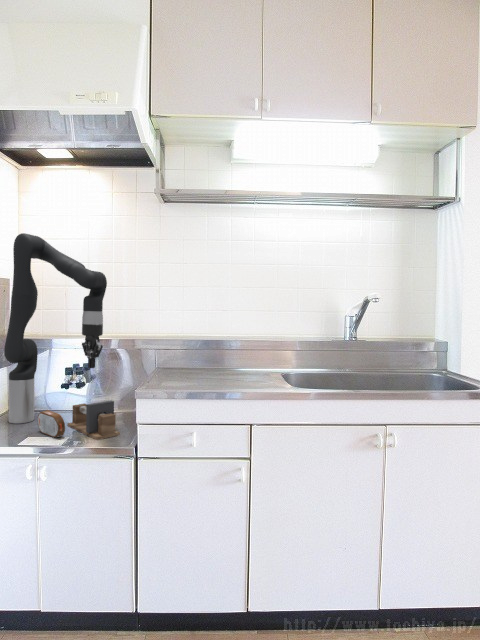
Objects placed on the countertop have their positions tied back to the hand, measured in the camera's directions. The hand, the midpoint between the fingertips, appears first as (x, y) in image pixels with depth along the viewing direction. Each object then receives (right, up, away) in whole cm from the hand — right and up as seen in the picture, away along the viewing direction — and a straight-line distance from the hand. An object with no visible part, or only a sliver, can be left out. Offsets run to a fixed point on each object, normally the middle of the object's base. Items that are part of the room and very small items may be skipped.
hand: (91, 367), depth 162 cm
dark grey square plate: (+5, -22, -5) cm, 23 cm away
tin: (-12, -24, -8) cm, 28 cm away
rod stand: (+1, -24, -1) cm, 24 cm away
